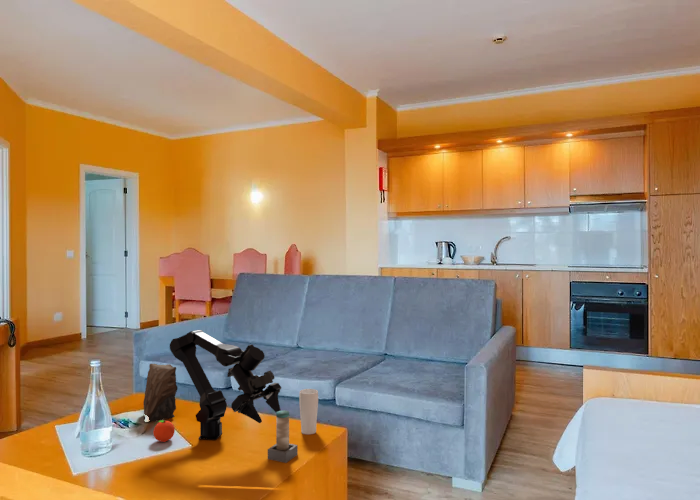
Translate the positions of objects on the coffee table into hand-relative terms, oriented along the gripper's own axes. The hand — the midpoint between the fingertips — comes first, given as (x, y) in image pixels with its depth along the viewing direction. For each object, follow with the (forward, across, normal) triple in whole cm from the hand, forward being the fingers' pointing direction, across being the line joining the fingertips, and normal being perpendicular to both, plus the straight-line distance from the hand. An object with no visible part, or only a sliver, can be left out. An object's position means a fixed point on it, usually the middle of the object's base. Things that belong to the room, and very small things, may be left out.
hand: (270, 418), depth 163 cm
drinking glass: (+8, +22, +10) cm, 25 cm away
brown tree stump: (-35, +2, +52) cm, 63 cm away
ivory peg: (+12, 0, +4) cm, 12 cm away
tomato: (-19, -12, +36) cm, 42 cm away
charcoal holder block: (+12, 0, +5) cm, 13 cm away
